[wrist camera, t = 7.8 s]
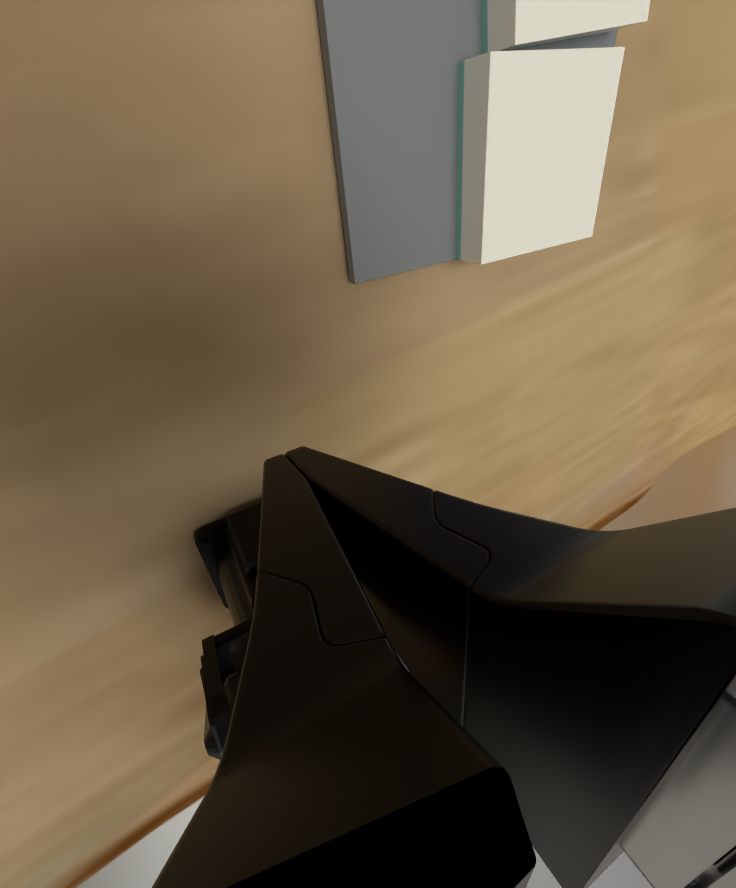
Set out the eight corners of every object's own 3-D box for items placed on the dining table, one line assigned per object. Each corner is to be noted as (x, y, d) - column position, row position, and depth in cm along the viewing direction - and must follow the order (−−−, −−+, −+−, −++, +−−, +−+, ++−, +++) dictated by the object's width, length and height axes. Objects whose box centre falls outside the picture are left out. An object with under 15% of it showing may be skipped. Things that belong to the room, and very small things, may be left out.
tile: (455, 259, 23) (563, 233, 26) (481, 264, 22) (592, 236, 24) (458, 62, 19) (587, 56, 21) (490, 51, 17) (624, 46, 20)
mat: (576, 227, 27) (585, 227, 27) (349, 281, 21) (355, 283, 21) (641, -196, 18) (655, -205, 18) (281, -291, 13) (288, -309, 12)
